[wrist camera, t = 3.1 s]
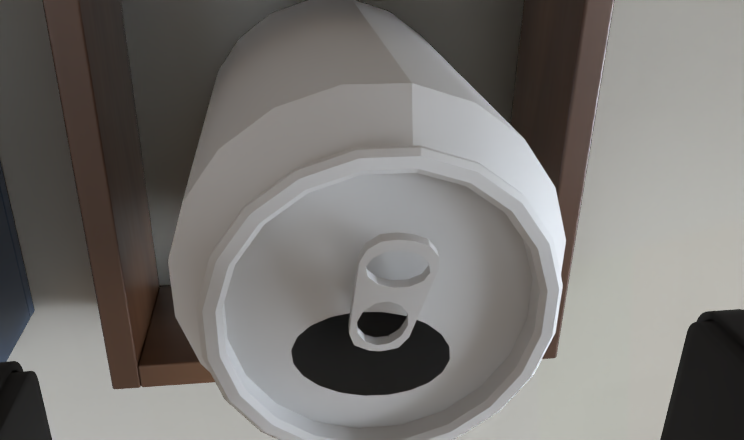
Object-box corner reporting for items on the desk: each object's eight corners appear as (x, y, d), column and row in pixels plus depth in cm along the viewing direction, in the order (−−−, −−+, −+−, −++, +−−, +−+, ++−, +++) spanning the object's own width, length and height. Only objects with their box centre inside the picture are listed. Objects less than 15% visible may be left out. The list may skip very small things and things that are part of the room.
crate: (562, -117, 20) (635, -117, 16) (512, 286, 26) (557, 359, 22) (72, -127, 18) (18, -131, 14) (138, 306, 24) (112, 390, 20)
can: (202, 209, 23) (145, 491, 12) (220, -26, 20) (164, 78, 9) (420, 229, 24) (537, 499, 14) (467, 13, 21) (667, 144, 11)
